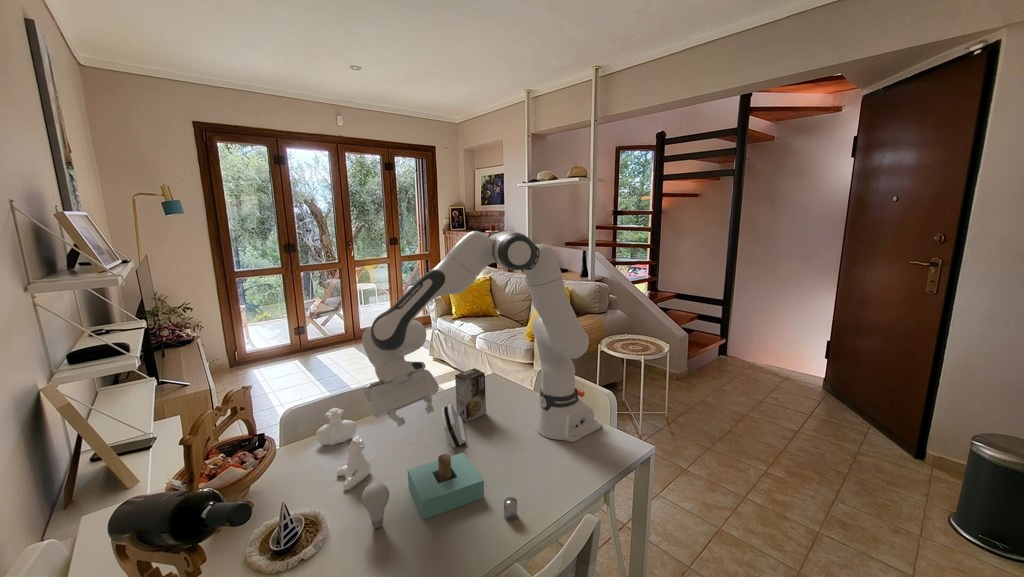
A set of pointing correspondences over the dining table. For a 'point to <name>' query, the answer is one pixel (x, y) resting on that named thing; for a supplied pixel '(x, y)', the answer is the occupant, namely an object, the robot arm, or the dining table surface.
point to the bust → (335, 429)
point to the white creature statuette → (355, 464)
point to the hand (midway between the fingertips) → (417, 418)
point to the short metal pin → (510, 509)
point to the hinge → (453, 426)
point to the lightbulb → (375, 502)
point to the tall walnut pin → (444, 467)
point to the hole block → (445, 486)
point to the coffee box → (470, 394)
